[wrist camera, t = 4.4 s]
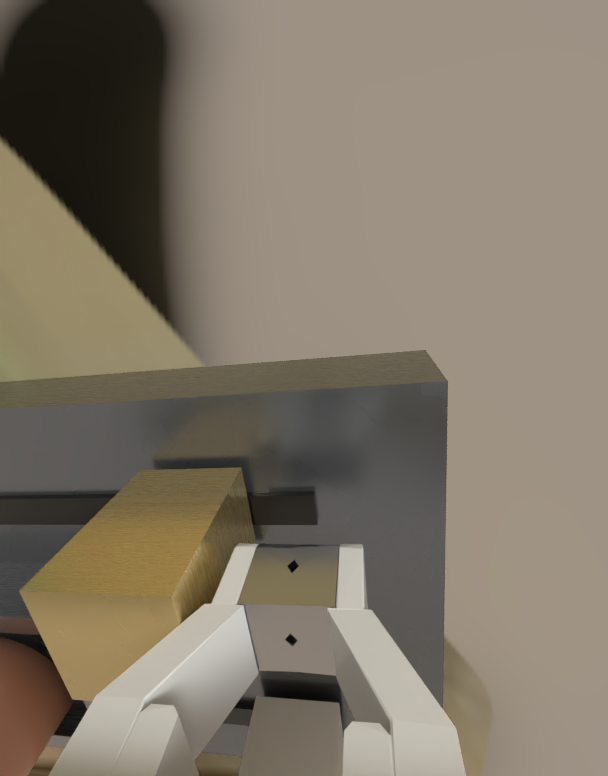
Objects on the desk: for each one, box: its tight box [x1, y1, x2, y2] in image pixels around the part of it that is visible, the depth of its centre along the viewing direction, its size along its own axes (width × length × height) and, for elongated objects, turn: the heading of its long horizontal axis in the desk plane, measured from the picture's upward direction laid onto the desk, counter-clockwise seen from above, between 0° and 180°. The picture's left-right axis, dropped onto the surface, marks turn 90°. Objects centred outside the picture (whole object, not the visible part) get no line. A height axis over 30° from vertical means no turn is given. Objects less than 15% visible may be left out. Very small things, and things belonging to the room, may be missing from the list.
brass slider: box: [19, 467, 256, 701], centre depth 9 cm, size 3×3×4 cm
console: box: [0, 350, 448, 756], centre depth 13 cm, size 20×16×5 cm
